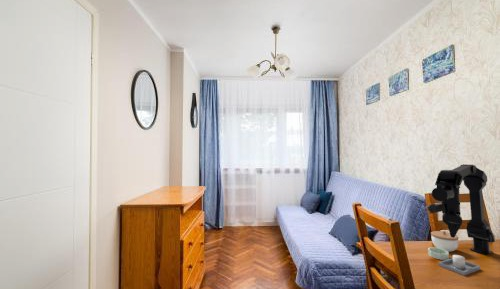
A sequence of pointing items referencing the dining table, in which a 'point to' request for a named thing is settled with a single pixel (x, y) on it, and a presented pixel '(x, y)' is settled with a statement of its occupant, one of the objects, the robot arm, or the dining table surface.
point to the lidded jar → (444, 240)
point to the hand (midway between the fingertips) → (452, 234)
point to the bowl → (438, 253)
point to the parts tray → (468, 269)
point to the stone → (459, 262)
